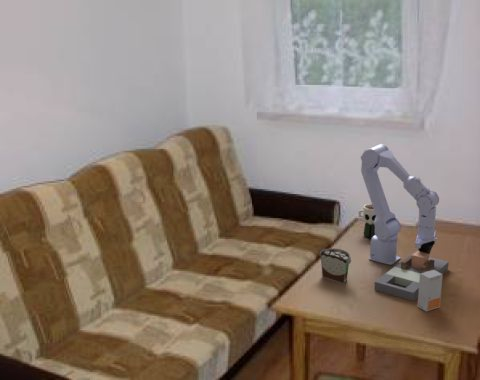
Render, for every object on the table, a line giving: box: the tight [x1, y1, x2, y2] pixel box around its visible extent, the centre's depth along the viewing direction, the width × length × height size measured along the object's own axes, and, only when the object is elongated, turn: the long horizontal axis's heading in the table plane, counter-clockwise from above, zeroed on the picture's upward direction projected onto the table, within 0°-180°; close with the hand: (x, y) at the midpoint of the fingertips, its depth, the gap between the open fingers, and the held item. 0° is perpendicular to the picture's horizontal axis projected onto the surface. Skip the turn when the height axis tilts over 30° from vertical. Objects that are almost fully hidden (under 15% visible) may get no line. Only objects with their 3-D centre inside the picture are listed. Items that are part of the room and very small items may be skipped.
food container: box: [318, 248, 352, 285], centre depth 226 cm, size 12×6×10 cm, turn 47°
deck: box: [374, 252, 449, 302], centre depth 224 cm, size 14×30×3 cm, turn 141°
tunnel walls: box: [400, 254, 435, 273], centre depth 226 cm, size 9×8×2 cm
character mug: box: [358, 203, 376, 239], centre depth 262 cm, size 11×7×13 cm, turn 70°
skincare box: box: [417, 270, 444, 312], centre depth 203 cm, size 6×4×12 cm
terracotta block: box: [411, 250, 430, 269], centre depth 227 cm, size 4×4×4 cm
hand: (424, 260), depth 230 cm, fingers closed
